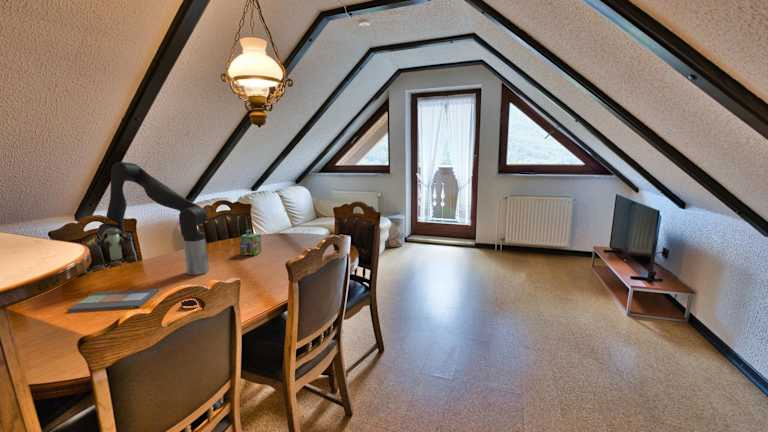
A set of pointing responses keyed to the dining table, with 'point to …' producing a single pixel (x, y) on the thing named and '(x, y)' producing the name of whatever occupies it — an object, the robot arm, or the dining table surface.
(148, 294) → the picture board
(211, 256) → the dining table surface
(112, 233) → the green bottle grey cap
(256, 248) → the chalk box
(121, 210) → the robot arm
